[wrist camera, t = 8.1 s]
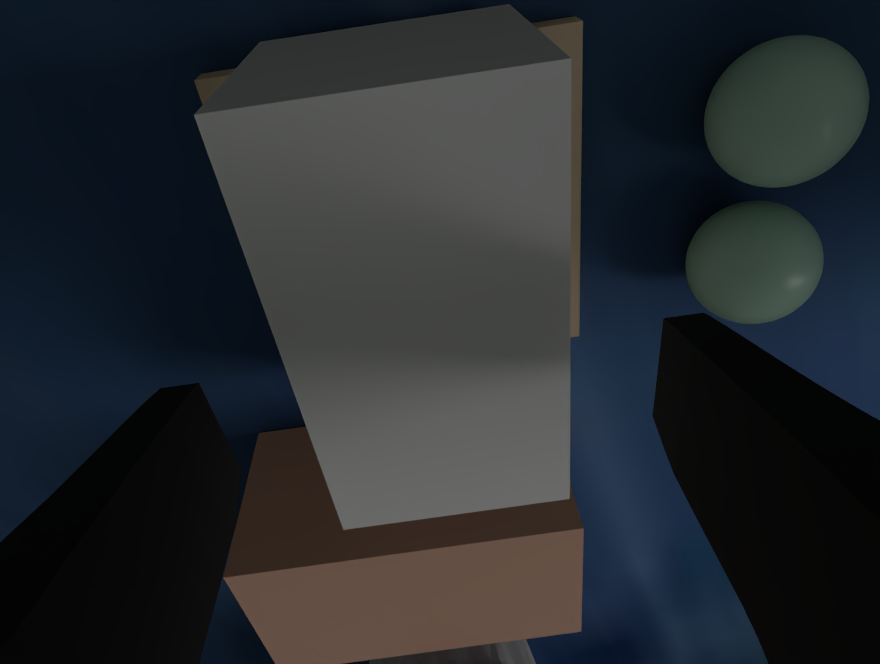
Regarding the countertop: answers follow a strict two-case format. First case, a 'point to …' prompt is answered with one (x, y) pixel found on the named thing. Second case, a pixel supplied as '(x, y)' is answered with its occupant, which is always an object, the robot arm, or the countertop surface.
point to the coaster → (571, 42)
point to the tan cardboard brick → (393, 569)
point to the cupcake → (469, 655)
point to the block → (412, 253)
